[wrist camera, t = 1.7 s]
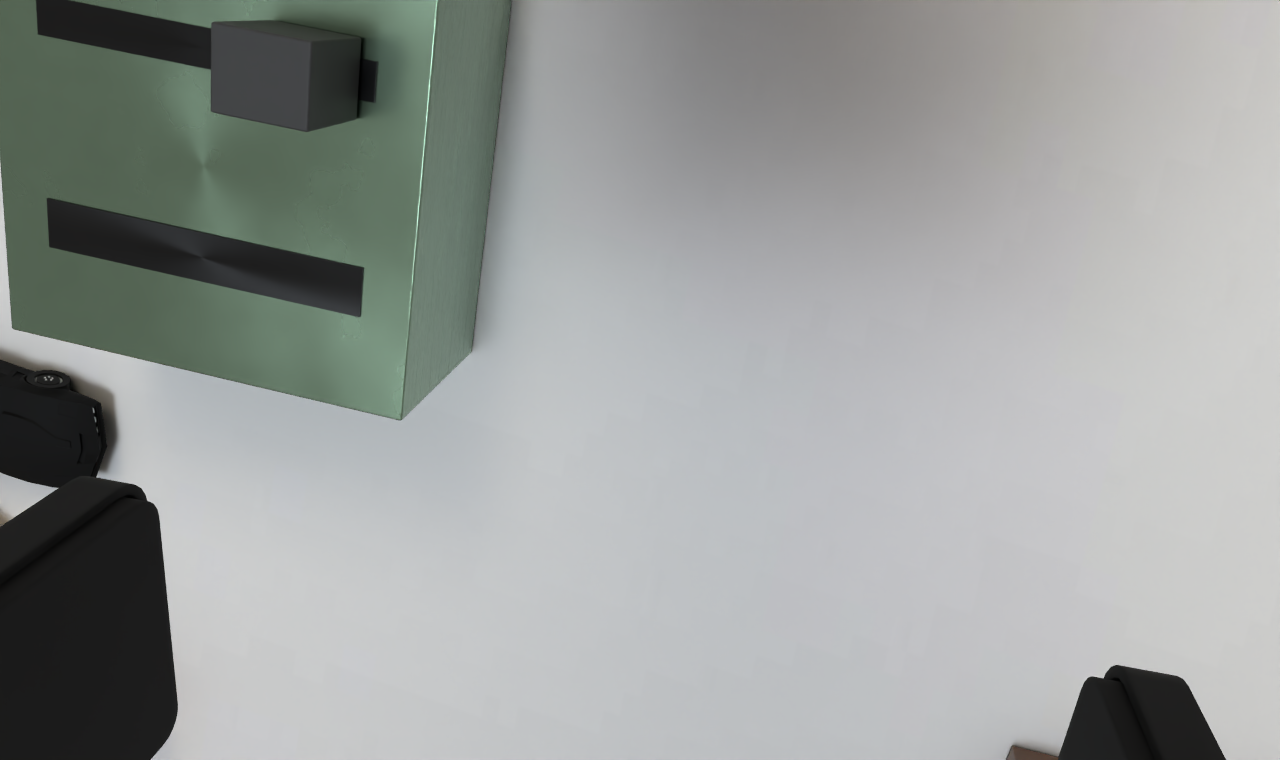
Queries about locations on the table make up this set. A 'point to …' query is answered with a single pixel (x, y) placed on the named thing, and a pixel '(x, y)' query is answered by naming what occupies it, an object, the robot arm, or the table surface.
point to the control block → (1028, 755)
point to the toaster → (251, 194)
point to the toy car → (47, 428)
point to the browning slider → (284, 74)
